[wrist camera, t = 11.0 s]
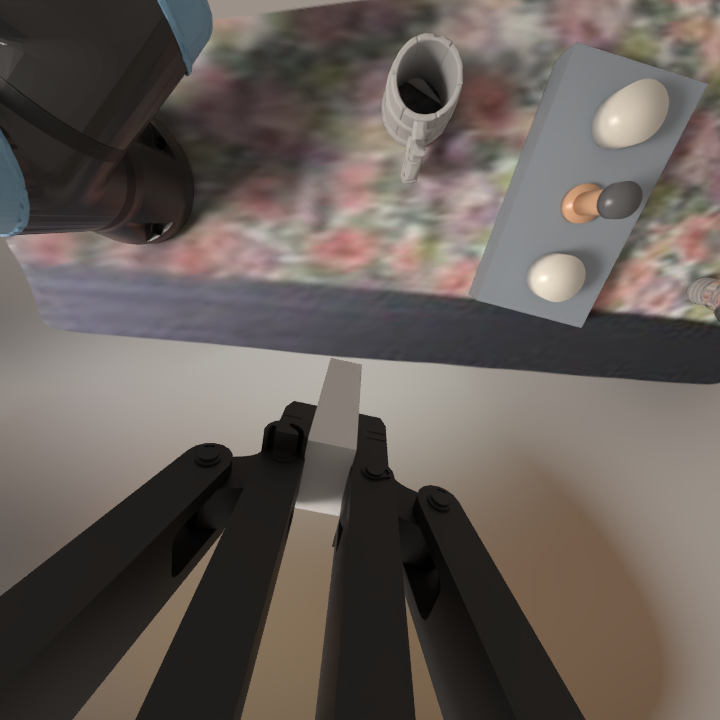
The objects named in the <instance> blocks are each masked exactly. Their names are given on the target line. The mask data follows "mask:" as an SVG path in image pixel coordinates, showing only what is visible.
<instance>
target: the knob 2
mask: <svg viewBox="0 0 720 720" xmlns="http://www.w3.org/2000/svg"><path fill="white" fill-rule="evenodd" d="M668 108H669V97H668V93H667V90H666V88H665V87H664V86H663V85H662V84H661V83H660V82H659V81H657V80H654V79H642V80H638V81H636V82H634V83H632V84H630V85H628V86H626V87H625V88H623V89H621V90H619V91H617V92H615V93H613V94H612V95H610V96H609V97H607V98H606V99H605V100H604V101H603V102H602V103H601V104H600V106H599V107H598V109H597V110H596V112H595V114H594V117H593V121H592V136H593V139H594V141H595V143H596V144H597V145H598V146H599V147H601V148H602V149H605V150H618V149H621V148H625V147H628V146H631V145H635V144H638V143H641V142H643V141H645V140H647V139H649V138H650V137H651V136H653V135H654V134H655V133H656V132H657V131H658V129H659V128H660V127H661V125H662V124H663V122H664V120H665V118H666V115H667V112H668Z"/></svg>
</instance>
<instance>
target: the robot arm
mask: <svg viewBox="0 0 720 720" xmlns="http://www.w3.org/2000/svg"><path fill="white" fill-rule="evenodd" d="M212 29H213V28H212V14H211V10H210V7H209V4H208V1H207V0H0V236H2V237H10V236H15V235H25V234H45V233H65V232H85V231H93V232H95V233H98V234H100V235H103V236H105V237H108V238H110V239H113V240H116V241H119V242H122V243H127V244H136V245H141V244H152V243H158V242H162V241H164V240H167V239H169V238H171V237H172V236H174V235H175V234H176V233H177V232H178V231H179V230H180V229H181V228H182V227H183V226H184V224H185V223H186V221H187V219H188V217H189V215H190V212H191V209H192V204H193V197H194V186H193V178H192V173H191V169H190V166H189V163H188V161H187V158H186V156H185V154H184V152H183V150H182V148H181V147H180V145H179V144H178V142H177V141H176V139H175V138H174V137H173V136H172V134H171V133H170V132H169V131H168V130H167V129H166V128H165V127H164V126H163V125H162V124H161V123H159V122H158V121H157V120H155V119H154V118H153V117H154V115H155V114H156V113H157V111H158V110H159V109H160V107H161V106H162V105H163V103H164V102H165V101H166V99H167V98H168V97H169V95H170V94H171V93H172V91H173V90H174V89H175V87H176V86H177V85H178V83H179V82H180V80H181V79H182V78H183V76H184V75H186V76H189V75H190V74H191V72H192V65H193V63H194V62H195V60H196V59H197V57H198V56H199V54H200V53H201V51H202V50H203V48H204V47H205V45H206V44H207V42H208V41H209V39H210V36H211V33H212ZM361 368H362V365H361V364H356V363H352V362H347V361H342V360H338V359H333V358H331V360H330V364H329V367H328V371H327V374H326V377H325V381H324V384H323V388H322V392H321V395H320V399H319V402H318V405H317V406H315V405H310V404H306V403H301V402H296V401H294V402H292V403H291V404H289V405H288V406H286V408H285V410H284V412H283V415H282V417H281V419H280V420H279V421H274V422H272V423H270V424H268V425H267V426H266V427H265V429H264V436H263V443H262V450H261V452H260V453H258V454H255V455H251V456H243V457H233V454H232V452H231V451H230V449H229V448H227V447H225V446H223V445H220V444H215V443H204V444H201V445H197V446H195V447H192V448H191V449H189V450H187V451H186V452H185V453H184V454H182V455H181V456H180V457H178V458H177V459H176V460H175V461H173V462H172V463H171V464H169V465H168V466H167V467H166V468H164V469H163V470H162V471H160V472H159V473H158V474H157V475H155V476H154V477H153V478H151V479H150V480H149V481H148V482H147V483H145V484H144V485H142V486H141V487H140V488H139V489H137V490H136V491H135V492H134V493H132V494H131V495H130V496H128V497H127V498H126V499H125V500H124V501H122V502H121V503H120V504H118V505H117V506H116V507H114V508H113V509H112V510H110V511H109V512H108V513H107V514H105V515H104V516H103V517H101V518H100V519H99V520H98V521H96V522H95V523H94V524H93V525H91V526H90V527H89V528H88V529H86V530H85V531H83V532H82V533H81V534H80V535H78V536H77V537H76V538H74V540H72V541H71V542H69V543H68V544H67V545H66V546H64V547H63V548H62V549H60V550H59V551H58V552H57V553H55V554H54V555H53V556H51V557H50V558H49V559H48V560H46V561H45V562H44V563H42V564H41V565H40V566H39V567H37V568H36V569H35V570H34V571H32V572H31V573H30V574H28V575H27V576H26V577H24V578H23V579H22V580H21V581H20V582H18V583H17V584H15V585H14V586H13V587H12V588H11V589H9V590H8V591H6V592H5V593H4V594H3V595H1V596H0V720H72V719H73V718H74V717H75V716H76V714H77V713H78V712H79V711H80V709H81V708H82V707H83V706H84V704H85V703H86V702H87V701H88V699H89V698H90V697H91V696H92V695H93V693H94V692H95V691H96V689H97V688H98V687H99V686H100V684H101V683H102V682H103V681H104V680H105V678H106V677H107V676H108V675H109V673H110V672H111V671H112V670H113V668H114V667H115V666H116V664H117V663H118V662H119V661H120V660H121V658H122V657H123V656H124V655H125V653H126V652H127V650H129V648H130V647H131V646H132V645H133V643H134V642H135V641H136V639H137V638H138V637H139V636H140V634H141V633H142V632H143V631H144V630H145V628H146V627H147V626H148V625H149V623H150V622H151V621H152V620H153V618H154V617H155V616H156V615H157V613H158V612H159V611H160V610H161V609H162V607H163V606H164V605H165V604H166V602H167V601H168V600H169V599H170V597H171V596H172V595H173V594H174V592H175V591H176V590H177V589H178V587H179V586H180V585H181V584H182V582H183V581H184V580H185V579H186V577H187V576H188V575H189V574H190V572H191V571H192V570H193V568H194V567H195V566H196V565H197V563H198V562H199V561H200V560H201V558H202V557H203V556H204V555H205V554H206V552H207V551H208V550H209V549H210V547H211V546H212V545H213V544H214V543H215V541H216V540H217V539H218V538H219V536H220V535H221V534H222V532H223V531H224V532H223V534H222V536H221V538H220V540H219V542H218V545H217V547H216V549H215V551H214V553H213V555H212V557H211V559H210V562H209V564H208V566H207V568H206V570H205V572H204V574H203V577H202V579H201V581H200V583H199V585H198V587H197V589H196V592H195V594H194V596H193V598H192V600H191V602H190V605H189V607H188V609H187V611H186V613H185V615H184V617H183V619H182V621H181V624H180V626H179V628H178V630H177V632H176V634H175V636H174V639H173V641H172V643H171V645H170V647H169V649H168V651H167V653H166V656H165V658H164V660H163V662H162V664H161V666H160V668H159V670H158V673H157V675H156V677H155V679H154V681H153V684H152V685H151V688H150V690H149V692H148V694H147V696H146V698H145V701H144V703H143V705H142V707H141V709H140V711H139V713H138V715H137V718H136V720H241V716H242V712H243V708H244V704H245V700H246V697H247V693H248V689H249V685H250V681H251V677H252V673H253V670H254V665H255V662H256V658H257V654H258V650H259V646H260V642H261V638H262V635H263V631H264V627H265V623H266V619H267V615H268V611H269V608H270V604H271V600H272V596H273V592H274V588H275V584H276V580H277V577H278V573H279V568H280V565H281V561H282V557H283V553H284V550H285V546H286V542H287V538H288V534H289V530H290V526H291V522H292V518H293V513H294V508H299V509H304V510H310V511H315V512H320V513H325V514H331V515H336V516H339V514H340V519H339V523H338V526H337V530H336V534H335V537H334V541H333V545H332V547H335V548H334V557H333V566H332V575H331V583H330V592H329V601H328V610H327V618H326V628H325V636H324V645H323V653H322V654H323V655H322V663H321V671H320V680H319V689H318V697H317V706H316V715H315V720H416V719H415V707H414V696H413V685H412V673H411V662H410V650H409V639H408V627H407V616H406V606H405V596H406V599H407V603H408V606H409V609H410V612H411V616H412V619H413V622H414V625H415V629H416V631H417V635H418V638H419V642H420V645H421V648H422V651H423V654H424V658H425V661H426V664H427V667H428V671H429V674H430V677H431V680H432V683H433V687H434V690H435V693H436V696H437V699H438V703H439V706H440V709H441V712H442V716H443V719H444V720H585V718H584V716H583V715H582V713H581V712H580V709H579V708H578V706H577V704H576V703H575V701H574V699H573V697H572V696H571V694H570V692H569V691H568V689H567V687H566V685H565V684H564V682H563V680H562V679H561V677H560V675H559V673H558V672H557V670H556V668H555V667H554V665H553V663H552V661H551V660H550V658H549V656H548V655H547V653H546V651H545V649H544V648H543V646H542V644H541V642H540V641H539V639H538V637H537V636H536V634H535V632H534V631H533V629H532V627H531V625H530V624H529V622H528V620H527V618H526V617H525V615H524V613H523V612H522V610H521V608H520V606H519V605H518V603H517V601H516V600H515V598H514V596H513V594H512V593H511V591H510V589H509V588H508V586H507V584H506V582H505V581H504V579H503V577H502V575H501V574H500V572H499V570H498V569H497V567H496V565H495V564H494V562H493V560H492V558H491V556H490V555H489V553H488V552H487V550H486V548H485V547H484V544H483V543H482V541H481V539H480V538H479V536H478V534H477V532H476V531H475V529H474V527H473V526H472V524H471V522H470V521H469V519H468V517H467V516H466V513H465V512H464V510H463V508H462V507H461V505H460V503H459V502H458V501H457V499H456V498H455V497H454V495H452V494H451V493H449V492H448V491H447V490H445V489H443V488H440V487H438V486H432V485H429V486H424V487H422V488H421V489H419V491H418V492H415V491H413V490H411V489H409V488H407V487H405V486H403V485H401V484H400V483H399V482H397V481H396V480H395V479H394V475H393V472H392V470H391V469H390V468H389V467H388V456H387V443H386V441H387V440H386V426H385V425H384V423H383V422H382V420H381V419H380V418H377V417H372V416H368V415H363V414H359V401H360V385H361ZM340 510H341V511H340ZM224 529H225V530H224Z"/></svg>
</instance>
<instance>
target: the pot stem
mask: <svg viewBox="0 0 720 720" xmlns="http://www.w3.org/2000/svg"><path fill="white" fill-rule="evenodd" d="M642 197H643V193H642V189H641V187H640V186H639V184H637V183H636V182H633V181H624V182H618V183H613V184H611V185H609V186H607V187H606V188H605V189H600V188H599V187H598V186H597V185H595V184H591V183H587V184H581V185H577V186H575V187H573V188H572V189H570V190H569V191H568V192H567V193H566V194H565V196H564V198H563V200H562V203H561V214H562V216H563V218H564V219H565V220H566V221H568V222H570V223H575V224H581V223H586V222H589V221H591V220H592V219H593V218H595V217H596V216H597V215H600V216H601V217H603V218H605V219H624V218H627V217H629V216H631V215H632V214H633V213H634V212H635V211H636V210H637V209H638V208H639V206H640V204H641V201H642Z"/></svg>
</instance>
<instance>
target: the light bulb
mask: <svg viewBox="0 0 720 720" xmlns="http://www.w3.org/2000/svg"><path fill="white" fill-rule="evenodd" d="M687 297H688V299H689V300H690V301H691V302H693V303H696V304H699V305H703V306H705V307H706V308H708V309H710V310H712V311H713V312H714V314H715V316H716V318H717V319H718V320H719V321H720V279H714V278H708V277H704V278H700V279H698V280H696V281H695V282H693V283H692V284H691V285H690V286H689V288H688V290H687Z"/></svg>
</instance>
